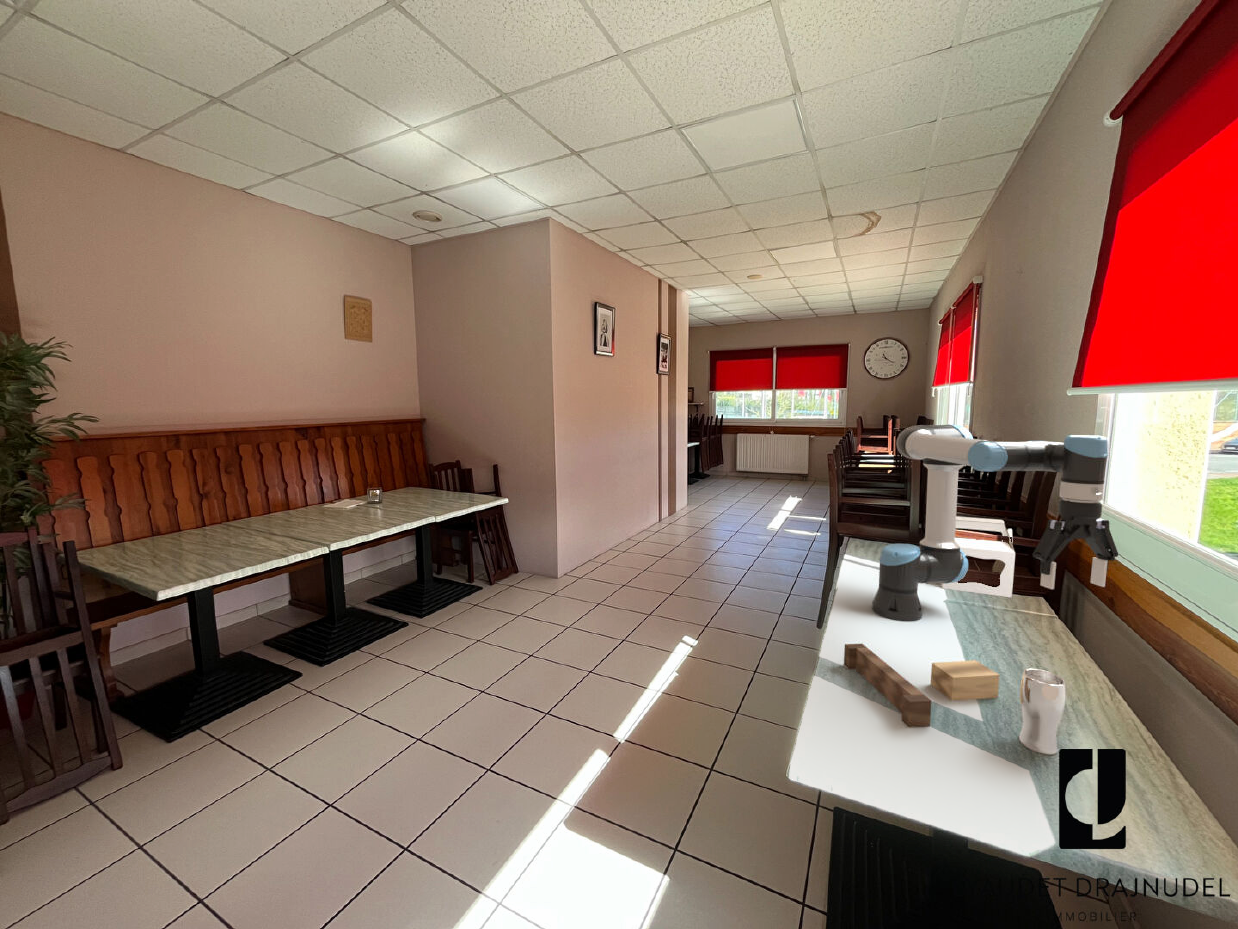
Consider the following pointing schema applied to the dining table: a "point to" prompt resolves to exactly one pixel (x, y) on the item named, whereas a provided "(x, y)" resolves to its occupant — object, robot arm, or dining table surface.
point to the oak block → (964, 680)
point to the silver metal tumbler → (1041, 709)
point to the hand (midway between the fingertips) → (1072, 586)
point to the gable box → (987, 556)
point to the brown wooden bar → (890, 685)
